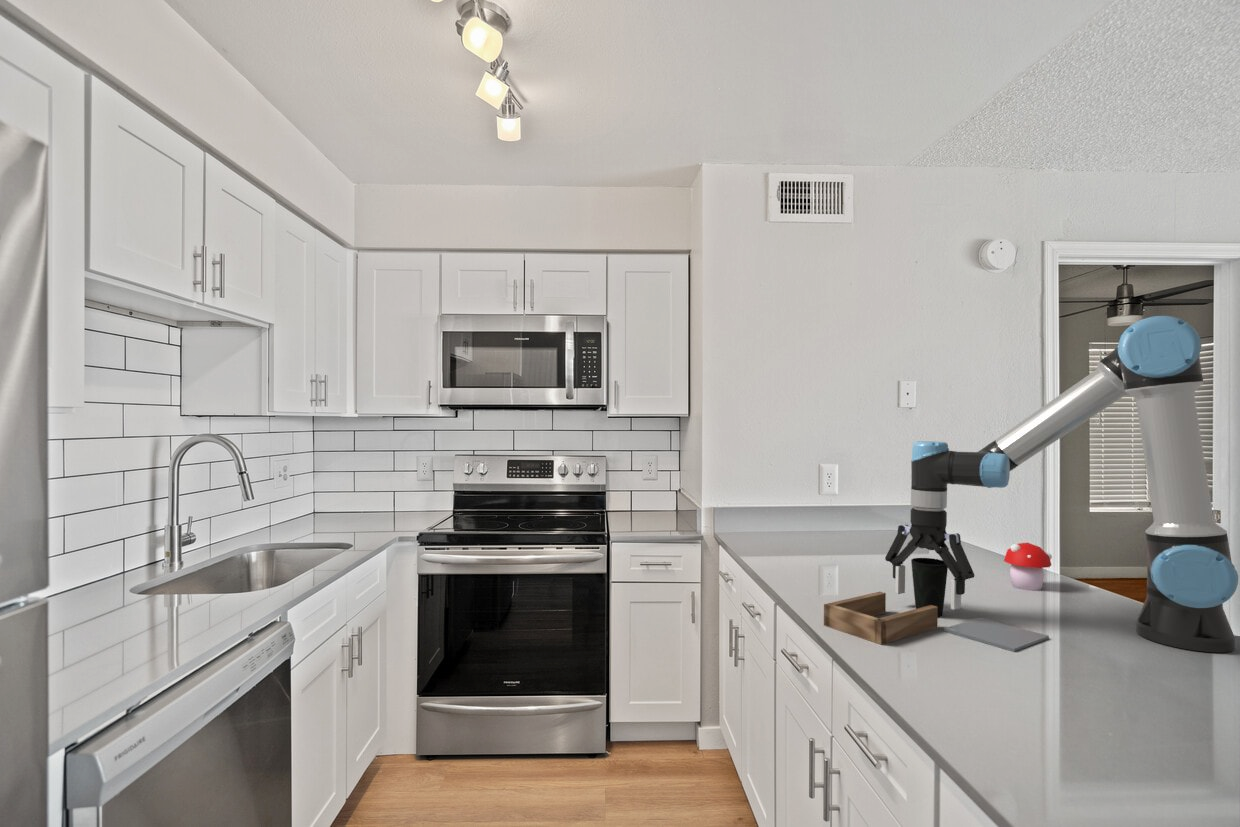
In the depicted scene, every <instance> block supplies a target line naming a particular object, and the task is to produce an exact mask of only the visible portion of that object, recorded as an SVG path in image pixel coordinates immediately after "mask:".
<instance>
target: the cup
mask: <svg viewBox="0 0 1240 827" xmlns="http://www.w3.org/2000/svg"><path fill="white" fill-rule="evenodd" d="M910 563H911V572H912V573H911V574H912V585H913V595H914V596H913V597H914V607H915V609H918V608H921V607H925V606H929V605H933V606H937V607H938V618H942V617H943V615H944V605H945V597H946V596H945V595H946V587H947V578H948V570H949V569H948V567H947V566H946V564H945V563H944V561H943V560H942V559H938V558H931V557H914V558H911V559H910Z"/></svg>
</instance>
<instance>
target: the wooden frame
mask: <svg viewBox="0 0 1240 827" xmlns="http://www.w3.org/2000/svg"><path fill="white" fill-rule="evenodd" d="M886 596H887V594H886V592H883V591H876V592H871V593H868V594H863V595H858V596H854V597H850V598H846V599H842V600H837V601H833V602H827V603H824V604H823V626H826V627H828V628H831V629H834V630H837V631H839V632H843V633H846V634H849V635H851V636H855V637H857V638H860V639H863V640H866V641H869V642H872V643H875V644H878V645H884V644H889V643H891V642H895V641H898V640H901V639H904V638H908V637H911V636H914V635H917V634H922V633H925V632H928V631H930V630H934V629H935V630H936V629H938V623H939V622H938V618H939V617H938V607H937V606H933V605H929V606H925V607H921V608H918V609H916V608H914V609H910V610H907V611H903V612H900V613H896V614H891V615H888V616H884V617H880V618H878V617H875V616H878V615H881V614H885V613H886V610H887V609H886V598H887V597H886Z"/></svg>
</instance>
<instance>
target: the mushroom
mask: <svg viewBox="0 0 1240 827" xmlns="http://www.w3.org/2000/svg"><path fill="white" fill-rule="evenodd" d="M1052 558H1053V556H1052V554H1051V553H1050V552H1046V551H1045V550H1044V549H1043V548H1042V547H1041V546H1038V545H1035V544H1032V543H1030V542H1021V543H1013V544H1012V545H1010V548H1008V549H1006V553H1005V556H1004V560H1003V562H1005V563H1006V564H1009V565H1011V567H1010V570H1009V575H1010V580H1011V585H1012V587H1013V588H1015V589H1019V590H1024V591H1041V590H1042V588H1043V583H1044V577H1045V574H1044V569H1043V568H1050V567H1051V566H1052V562H1051V560H1052Z"/></svg>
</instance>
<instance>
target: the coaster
mask: <svg viewBox="0 0 1240 827" xmlns="http://www.w3.org/2000/svg"><path fill="white" fill-rule="evenodd" d="M943 632H945V633H949V634H952V635H955V636H960V637H962V638H966V639H969V640H972V641H975V642H979V643H983V644H986V645H990V646H993V647H996V648H1000V649H1004V650H1007V651H1010V652H1013V653H1014V652H1017V651H1019V650H1023V649H1026V648H1028V647H1030V646H1033V645H1036V644H1039V643H1041V642H1043V641H1047V640H1049V639H1050V636H1049V635H1047V634H1044V633H1040V632H1038V631H1037V632H1036V631H1033V630H1029V629H1025V628H1021V627H1016V626H1013V625H1011V624H1010V625H1009V624H1006V623H1002V622H999V621H994V620H990V619H986V618H982V617H977V618H974V619H970V620H967V621H963V622H961V623H957V624H954V625H951V626H947V627H944V628H943Z"/></svg>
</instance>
